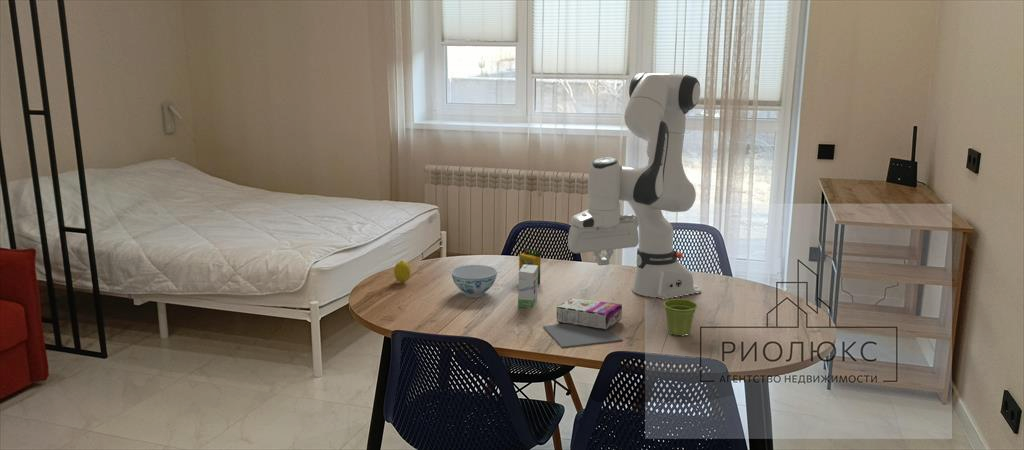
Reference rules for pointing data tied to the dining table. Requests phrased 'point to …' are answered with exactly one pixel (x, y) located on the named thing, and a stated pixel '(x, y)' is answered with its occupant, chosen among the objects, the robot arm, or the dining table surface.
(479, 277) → the chinaware
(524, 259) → the crayon box
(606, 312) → the candy bar box
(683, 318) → the plant pot
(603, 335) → the mat
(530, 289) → the ink box
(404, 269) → the lemon
